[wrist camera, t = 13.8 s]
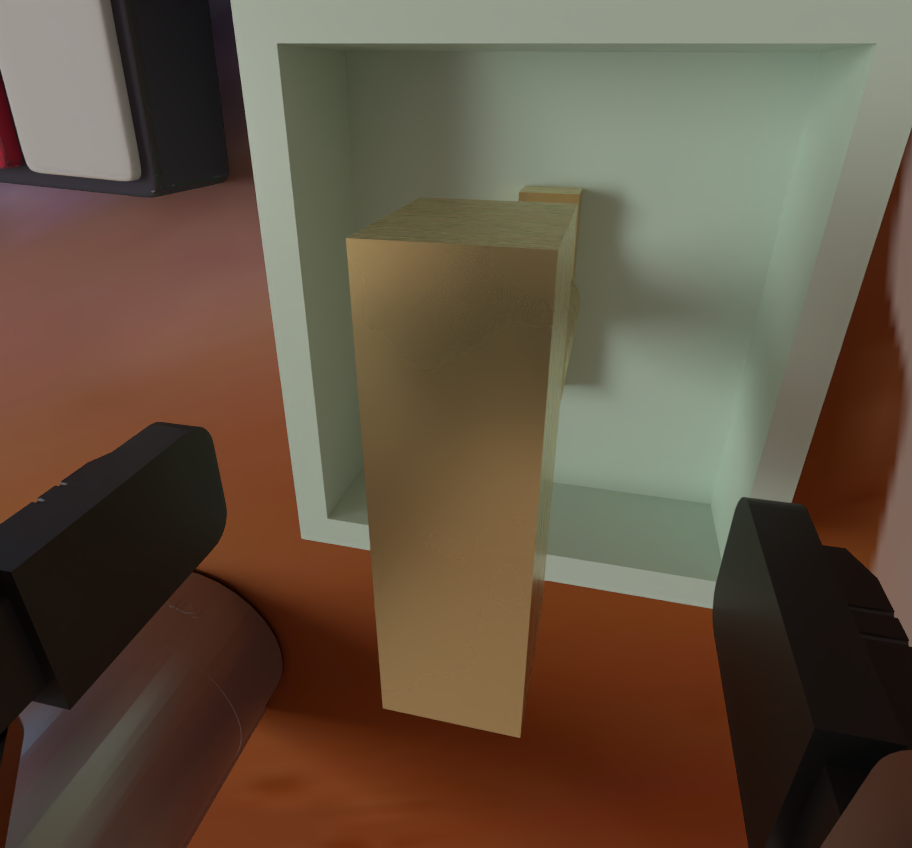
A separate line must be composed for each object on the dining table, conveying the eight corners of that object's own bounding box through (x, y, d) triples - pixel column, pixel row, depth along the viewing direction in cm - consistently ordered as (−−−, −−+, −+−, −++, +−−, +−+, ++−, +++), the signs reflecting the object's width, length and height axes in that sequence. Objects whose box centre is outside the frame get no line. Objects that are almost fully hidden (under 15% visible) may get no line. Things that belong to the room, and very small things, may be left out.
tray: (733, 522, 22) (755, 616, 18) (352, 467, 25) (301, 538, 21) (874, 3, 15) (960, -25, 11) (316, 10, 18) (228, -11, 14)
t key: (512, 146, 17) (345, 238, 7) (601, 148, 17) (558, 250, 7) (502, 406, 21) (382, 708, 11) (574, 413, 21) (520, 737, 10)
